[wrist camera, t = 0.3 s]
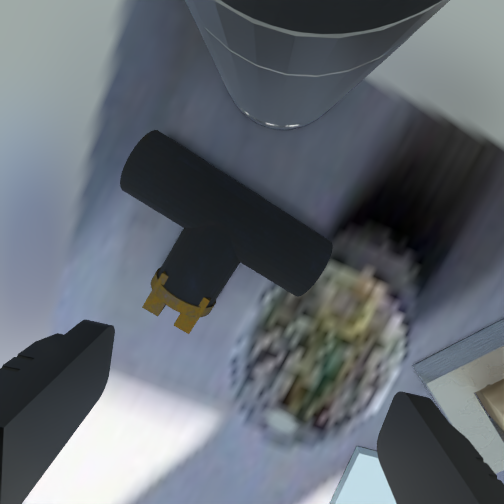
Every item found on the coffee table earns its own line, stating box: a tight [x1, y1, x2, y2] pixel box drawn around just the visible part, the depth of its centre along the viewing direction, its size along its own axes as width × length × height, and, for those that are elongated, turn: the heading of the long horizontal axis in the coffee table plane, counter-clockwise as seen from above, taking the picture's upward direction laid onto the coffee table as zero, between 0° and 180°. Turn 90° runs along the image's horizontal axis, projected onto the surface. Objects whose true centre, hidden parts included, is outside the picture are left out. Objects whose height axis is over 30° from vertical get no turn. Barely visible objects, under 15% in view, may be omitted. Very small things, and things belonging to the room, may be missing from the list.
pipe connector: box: [120, 130, 332, 334], centre depth 24 cm, size 12×5×15 cm
